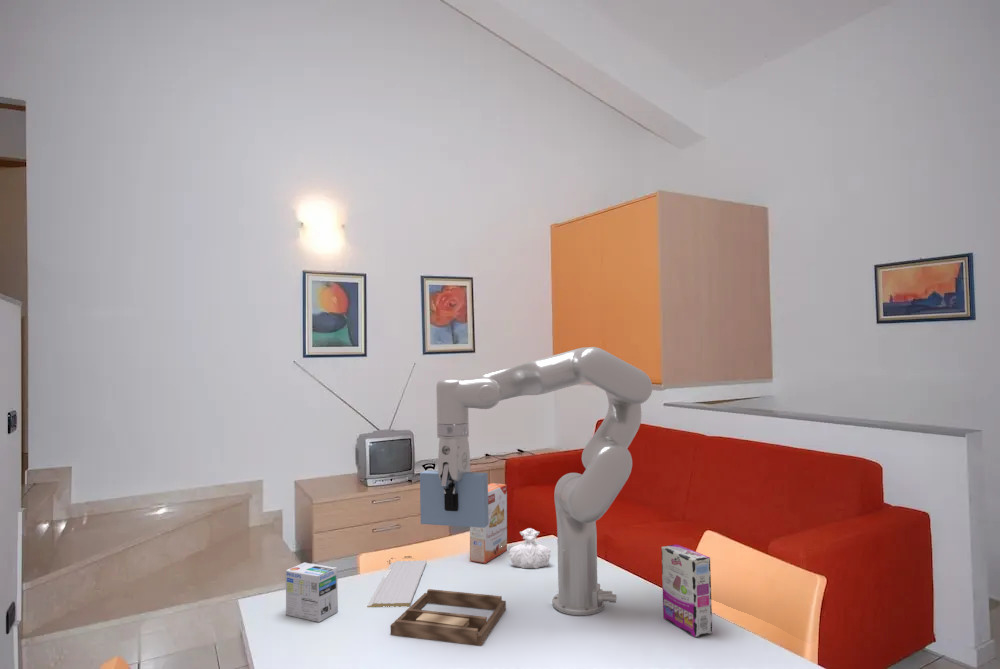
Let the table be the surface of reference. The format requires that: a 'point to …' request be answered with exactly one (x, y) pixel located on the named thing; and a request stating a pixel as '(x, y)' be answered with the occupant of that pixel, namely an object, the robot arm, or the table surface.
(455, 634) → the rack
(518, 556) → the tied white plastic bag
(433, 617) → the tan rectangular block
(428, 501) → the blue rectangular block
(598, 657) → the table surface
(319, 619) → the light bulb box
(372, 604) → the baseboard molding
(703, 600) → the candy bar box
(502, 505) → the cracker box
